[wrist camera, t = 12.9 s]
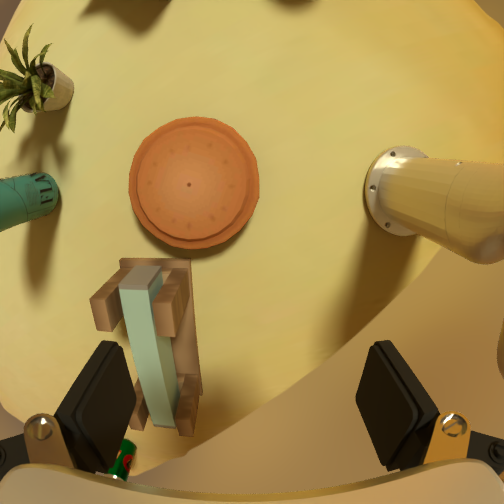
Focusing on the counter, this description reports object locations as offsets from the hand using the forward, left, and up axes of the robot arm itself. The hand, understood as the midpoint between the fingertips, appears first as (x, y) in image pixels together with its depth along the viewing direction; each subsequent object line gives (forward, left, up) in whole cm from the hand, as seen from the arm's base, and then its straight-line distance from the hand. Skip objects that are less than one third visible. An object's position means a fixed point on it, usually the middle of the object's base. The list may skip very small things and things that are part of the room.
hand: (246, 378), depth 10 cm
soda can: (+27, +50, -28) cm, 64 cm away
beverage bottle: (+29, -5, -28) cm, 41 cm away
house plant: (+28, -19, -28) cm, 44 cm away
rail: (+12, +17, -25) cm, 33 cm away
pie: (+6, -5, -29) cm, 30 cm away
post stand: (+12, +17, -28) cm, 35 cm away
